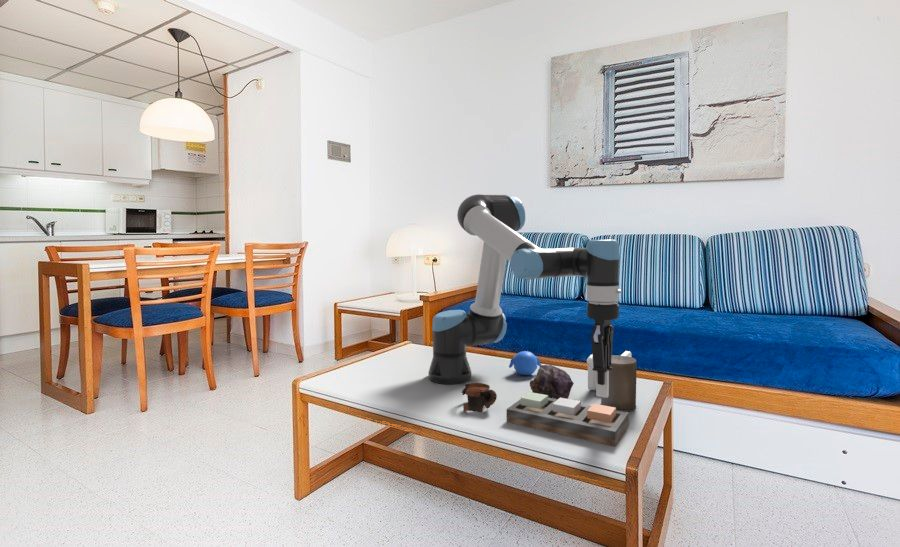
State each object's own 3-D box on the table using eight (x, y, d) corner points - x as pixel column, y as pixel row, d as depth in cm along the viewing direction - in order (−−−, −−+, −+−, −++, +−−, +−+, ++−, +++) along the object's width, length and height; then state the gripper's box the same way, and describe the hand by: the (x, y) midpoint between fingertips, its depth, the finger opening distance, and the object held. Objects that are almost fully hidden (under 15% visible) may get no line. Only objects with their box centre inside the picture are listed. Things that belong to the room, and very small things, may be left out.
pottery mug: (453, 411, 133) (455, 382, 136) (473, 417, 139) (475, 389, 143) (487, 409, 125) (489, 379, 129) (507, 415, 132) (507, 386, 135)
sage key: (520, 404, 125) (520, 397, 125) (529, 398, 130) (529, 391, 130) (540, 408, 122) (540, 401, 122) (548, 402, 127) (548, 395, 127)
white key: (552, 411, 120) (552, 403, 120) (560, 404, 125) (560, 397, 125) (573, 415, 117) (573, 407, 117) (580, 408, 122) (580, 401, 122)
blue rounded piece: (535, 368, 174) (535, 345, 173) (545, 377, 162) (545, 353, 161) (503, 369, 172) (503, 347, 172) (511, 379, 160) (511, 355, 160)
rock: (558, 409, 135) (577, 399, 142) (562, 381, 133) (581, 372, 141) (525, 393, 144) (544, 384, 151) (528, 366, 142) (547, 359, 149)
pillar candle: (643, 406, 133) (643, 355, 132) (622, 414, 127) (623, 361, 126) (613, 397, 141) (614, 349, 139) (593, 404, 135) (593, 354, 134)
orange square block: (587, 418, 115) (587, 410, 115) (593, 411, 120) (593, 403, 120) (610, 422, 112) (610, 414, 112) (616, 415, 117) (616, 407, 117)
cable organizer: (620, 398, 140) (621, 360, 139) (585, 392, 146) (586, 356, 145) (631, 385, 152) (632, 350, 151) (599, 379, 158) (599, 346, 157)
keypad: (506, 421, 123) (506, 409, 123) (527, 405, 135) (527, 393, 135) (615, 446, 108) (615, 431, 108) (628, 425, 119) (628, 412, 119)
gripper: (611, 306, 106) (611, 406, 108) (624, 300, 117) (624, 391, 119) (579, 304, 111) (579, 401, 112) (595, 298, 121) (594, 386, 123)
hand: (602, 395), depth 116 cm, fingers closed
